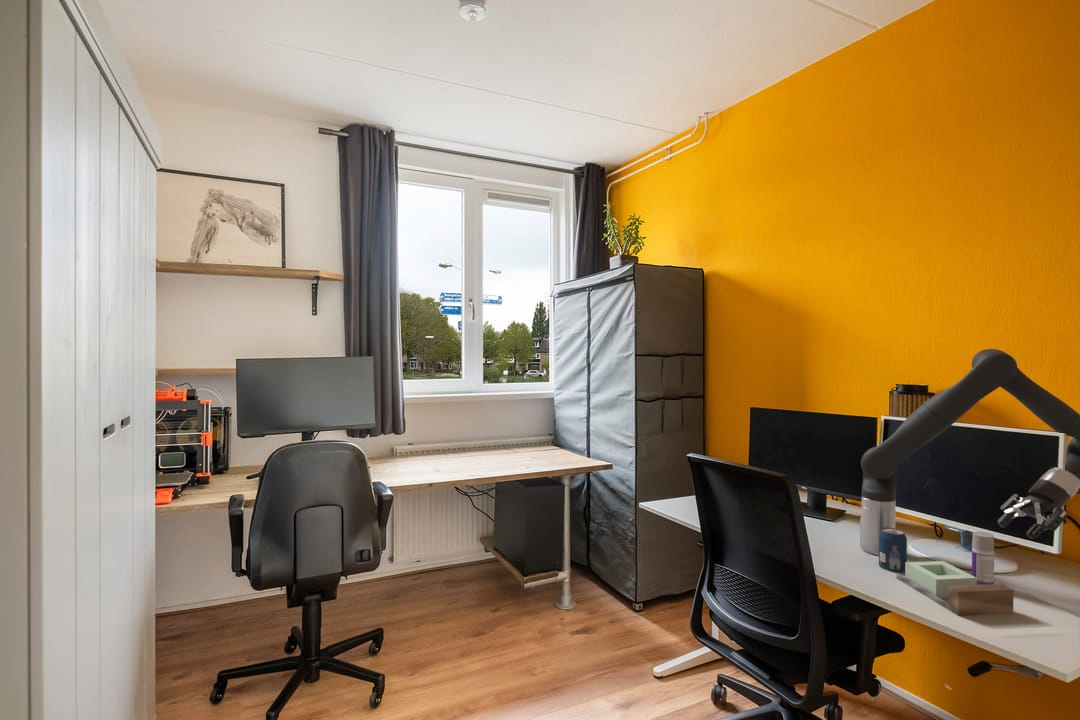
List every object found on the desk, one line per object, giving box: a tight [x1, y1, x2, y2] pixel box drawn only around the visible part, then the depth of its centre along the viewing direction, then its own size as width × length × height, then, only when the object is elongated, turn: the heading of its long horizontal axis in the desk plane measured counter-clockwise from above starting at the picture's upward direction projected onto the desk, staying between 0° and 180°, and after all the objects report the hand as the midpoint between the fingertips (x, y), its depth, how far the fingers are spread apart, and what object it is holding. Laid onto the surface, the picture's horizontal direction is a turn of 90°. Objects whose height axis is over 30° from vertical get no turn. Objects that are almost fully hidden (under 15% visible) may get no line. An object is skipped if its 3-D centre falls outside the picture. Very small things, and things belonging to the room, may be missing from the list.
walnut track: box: [895, 574, 1015, 617], centre depth 143 cm, size 23×14×7 cm, turn 3°
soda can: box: [878, 527, 908, 573], centre depth 161 cm, size 7×7×12 cm
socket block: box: [904, 560, 977, 599], centre depth 147 cm, size 11×11×5 cm
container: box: [971, 531, 995, 585], centre depth 149 cm, size 5×5×15 cm
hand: (1014, 531), depth 149 cm, fingers open, 8 cm apart
